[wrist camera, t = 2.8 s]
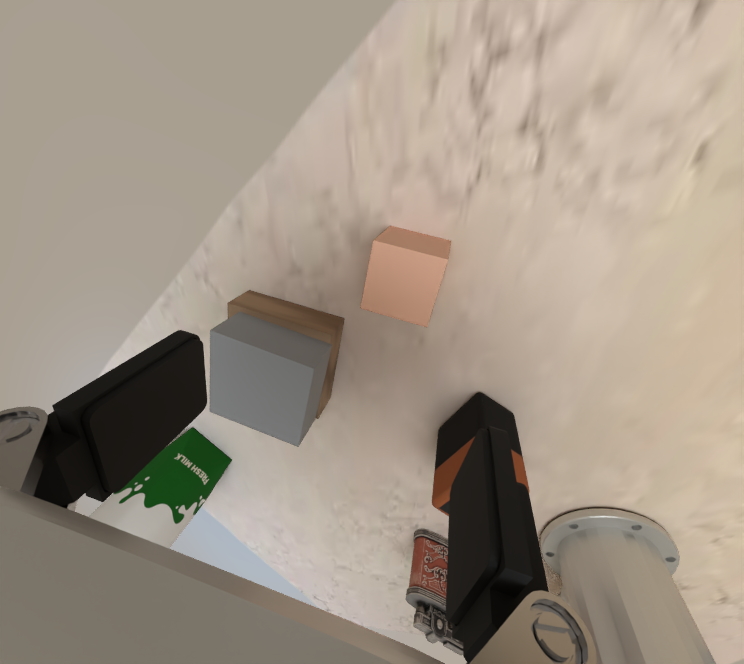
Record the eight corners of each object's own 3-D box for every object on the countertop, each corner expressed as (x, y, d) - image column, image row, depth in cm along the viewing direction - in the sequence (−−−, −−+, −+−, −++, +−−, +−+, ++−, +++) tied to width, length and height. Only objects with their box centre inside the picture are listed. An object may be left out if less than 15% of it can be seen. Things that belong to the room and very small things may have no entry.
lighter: (409, 536, 44) (395, 627, 35) (422, 524, 42) (412, 617, 34) (461, 566, 44) (460, 665, 35) (476, 556, 42) (480, 656, 34)
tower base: (331, 395, 37) (318, 418, 34) (250, 368, 38) (229, 388, 35) (346, 316, 32) (331, 335, 29) (252, 288, 33) (227, 302, 30)
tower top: (315, 417, 34) (298, 446, 30) (235, 386, 34) (209, 411, 31) (332, 344, 29) (314, 368, 26) (239, 311, 30) (210, 330, 27)
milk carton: (164, 446, 48) (-3, 604, 31) (190, 418, 44) (13, 584, 27) (211, 484, 50) (76, 655, 32) (241, 461, 45) (104, 644, 28)
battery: (516, 413, 32) (536, 506, 23) (470, 451, 35) (472, 545, 26) (479, 388, 32) (485, 473, 23) (436, 429, 35) (427, 516, 26)
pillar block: (433, 297, 29) (427, 327, 24) (378, 282, 29) (360, 308, 24) (451, 240, 26) (448, 259, 21) (390, 225, 27) (373, 240, 22)
